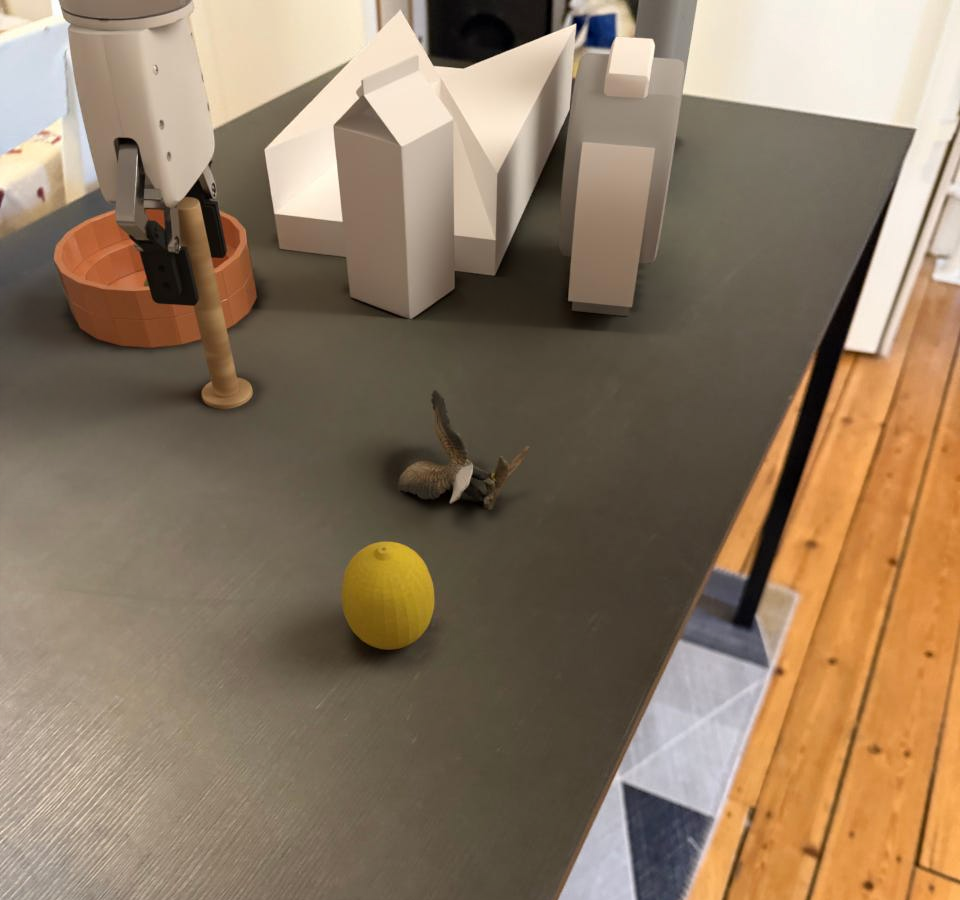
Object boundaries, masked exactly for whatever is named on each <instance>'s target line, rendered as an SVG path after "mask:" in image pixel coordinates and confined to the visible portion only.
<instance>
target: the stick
mask: <svg viewBox="0 0 960 900" xmlns="http://www.w3.org/2000/svg"><path fill="white" fill-rule="evenodd" d="M177 205H178V216H179V228H180V240H181V246H184V247H188V252H189V256H190V260H191V265H192V269H193V273H194V278H195V282H196V286H197V291H198V295H199V301H198V302H197V304H196V305H194V310H195V314H196V318H197V322H198V327H199V331H200V335H201V339H200V340H201V343H202V347H203V352H204V356H205V361H206V365H207V368H208V373H209V377H210V381H209V382H207V383H206V384H205V385H204V386H203V388H202V390H201V399H202V401H203V402H204V404H205V405H207V406H209V407H211V408H214V409H220V410H228V409H233V408H237V407H240V406H242V405H244V404H246V403H247V402H249V401H250V399H251V398H252V396H253V394H254V390H253V387H252V384H251V383H250V381H248V380H246V379H244V378H242V377H238V376H237V371H236V367H235V362H234V357H233V352H232V348H231V347H232V346H231V343H230V339H229V334H228V328H226V324H225V319H224V314H223V310H222V305H221V300H220V295H219V291H218V286H217V281H216V277H215V272H214V267H213V263H212V258H211V253H210V248H209V244H208V239H207V234H206V230H205V225H204V220H203V215H202V211H201V206H200V202H199V200H198V199H196V198H192V197H184V198H183V199H182V200H181V201H180V202H179V203H178V204H177Z"/></svg>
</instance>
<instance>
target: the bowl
mask: <svg viewBox="0 0 960 900" xmlns="http://www.w3.org/2000/svg"><path fill="white" fill-rule="evenodd" d="M145 211H146V215H147V216H148V219H149V220H150V221H156V222H157V223H159V224H160V225H161V226H162V227H163V228H164V229H165V223H164V212H163V210H154V209H145ZM219 212H220V217H221V222H222V227H223V232H224V237H225V242H226V247H227V253H226V255H225V257H224V258H212V263H213V267H214V272H215V277H216V281H217V286H218V291H219V295H220V300H221V305H222V310H223V314H224V319H225V324H226V328H227V329H229V328H231V327H234V326H235V325H236V324H237V323H239V322H240V321H241V320H242V319H243V318H245V316H246V315H248V314H249V313H250V312H251V310H252V308H253V305H254V304H255V302H256V300H257V298H258V294H257V286H256V285H257V284H256V281H255V275H254V274H255V273H254V268H253V262H252V257H251V252H250V251H251V250H250V247H249V241H248V240H249V239H248V235H247V230H246V228H245V226H243V225H242V224H241V222H240V221H239V220H238V219H237V218H236V217H234V216H232V215H230V214H228V213H226V212H224V211H222V210H220V209H219ZM53 262H54V265H55V268H56V271H57V274H58V277H59V281H60V282H61V285H62V288H63V291H64V294H65V297H66V300H67V302H68V305H69V308H70V311H71V315H72V316H73V318H74V320H75V322H76V324H77V325H78V327H79V329H81V330H82V331H84V332H85V333H86V334H88V335H90V336H91V337H93V338H95V339H96V340H99V341H103V342H105V343H109V344H113V345H117V346H119V347H132V348H145V349H147V348H148V349H153V348H162V347H173V346H181V345H185V344H189V343H193V342H197V341H200V340H202V339H201V335H200V331H199V327H198V322H197V318H196V314H195V310H194V306H189V305H173V304H158V303H156V302H154V301H153V299H152V296H151V292H150V289H149V286H146V287H144V282H145V279H146V274H145V270H144V267H143V263H142V259H141V256H140V252H139V251H137V250H136V249H135V246H134V242H133V241H132V240H131V239H130V237H129V235H128V234H127V233H126V232H125V231H124V230H123V229H122V228H120V227H119V226H118V224H117V222H116V219H115V209H113V210H110V211H107V212H104V213H101V214H99V215H96V216H93V217H91V218H88V219H86V220H84V221H82V222H81V223H79V224H77V225H76V226H74V227H72V228H71V229H69V230H67V232H66V233H65V234H64V235H63V237H61V239H60V240H59V241H58V242H57V243H56V245H55V249H54V253H53Z"/></svg>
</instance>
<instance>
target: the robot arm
mask: <svg viewBox="0 0 960 900" xmlns="http://www.w3.org/2000/svg"><path fill="white" fill-rule="evenodd" d="M58 3H59V6H60V10H61V14H62V17H63V19H64V20H65V22H67V23H68V24H69V26H68V27H67V34H68V44H69V45H68V46H69V53H70V59H71V66H72V71H73V79H74V84H75V89H76V94H77V98H78V103H79V109H80V113H81V118H82V122H83V126H84V130H85V134H86V139H87V143H88V148H89V153H90V156H91V159H92V163H93V168H94V171H95V175H96V178H97V182H98V185H99V188H100V192H101V195H102V198H103V199H104V200H105V201H106V202H107V204H109V205H115V208H114V210H115V219H116V222H117V224H118V226H119V227H120V228H122V229H123V230H124V231H125V232H126V233H127V234H128V235H129V237H130V239H131V240H132V241H133V242H134V246H135V249H136V250H137V251H139V252H140V256H141V259H142V263H143V267H144V270H145V274H146V278H147V281H148V285H149V289H150V292H151V296H152V299H153V301H154V302H156V303H158V304H173V305H189V306H194V305H196V304H197V302H198V301H199V295H198V291H197V286H196V282H195V278H194V273H193V269H192V265H191V260H190V256H189V252H188V247H184V246H181V240H180V228H179V216H178V205H177V204H178V203H179V202H180V201H181V200H182V199H183V198H184V197H192V198H196V199H198V200H199V202H200V206H201V211H202V215H203V220H204V225H205V230H206V234H207V239H208V244H209V248H210V253H211V258H224V257H225V255H226V253H227V247H226V242H225V237H224V232H223V227H222V222H221V217H220V212H219V210H220V208H219V203H218V201H217V200H216V198H217V195H218V191H217V190H218V189H217V185H216V181H215V179H214V176H213V173H212V170H211V169H212V165H213V160H212V159H213V156H214V154H215V147H216V144H215V143H216V141H215V133H214V126H213V125H214V124H213V120H212V119H213V118H212V114H211V108H210V103H209V98H208V93H207V88H206V84H205V79H204V74H203V71H202V67H201V62H200V58H199V53H198V50H197V46H196V45H197V44H196V43H195V38H194V35H193V31H192V26H191V23H190V19H189V16H191V14H192V13H194V10H195V3H194V0H58ZM145 190H157V191H160V193H161V194H160V195H161V198H147V197H146V198H145ZM145 209H154V210H163V212H164V223H165V229H164V228H163V227H162V226H161V225H160V224H159V223H157V222H156V221H150V220H149V219H148V216H147V215H146V211H145Z"/></svg>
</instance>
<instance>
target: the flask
mask: <svg viewBox="0 0 960 900" xmlns="http://www.w3.org/2000/svg"><path fill="white" fill-rule="evenodd" d="M697 6H698V0H638V4H637V10H636V11H637V13H636V20H635V29H634V37H633V38H647V39H653V41H654V44H655V50H654V58H668V59H679V60H681V61H682V62H684V68H685V72H684V81H683V89H682V95H683V93H684V87H685V80H686V74H687V68H688V62H689V56H690V49H691V44H692V37H693V31H694V24H695V18H696V12H697ZM682 99H683V96H682V97H681V101H682ZM681 105H682V103H681V104H680V107H681Z"/></svg>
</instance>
